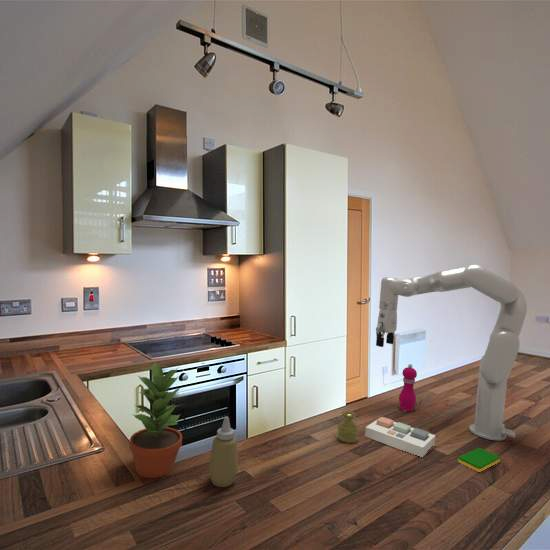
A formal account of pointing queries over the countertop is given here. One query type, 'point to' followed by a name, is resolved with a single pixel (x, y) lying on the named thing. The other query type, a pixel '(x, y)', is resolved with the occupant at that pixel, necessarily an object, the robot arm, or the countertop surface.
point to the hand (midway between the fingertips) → (384, 344)
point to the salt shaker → (347, 428)
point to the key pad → (399, 439)
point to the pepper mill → (408, 389)
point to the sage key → (402, 428)
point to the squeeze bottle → (224, 456)
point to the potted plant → (156, 428)
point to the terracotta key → (385, 422)
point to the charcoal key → (419, 434)
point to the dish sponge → (479, 459)
